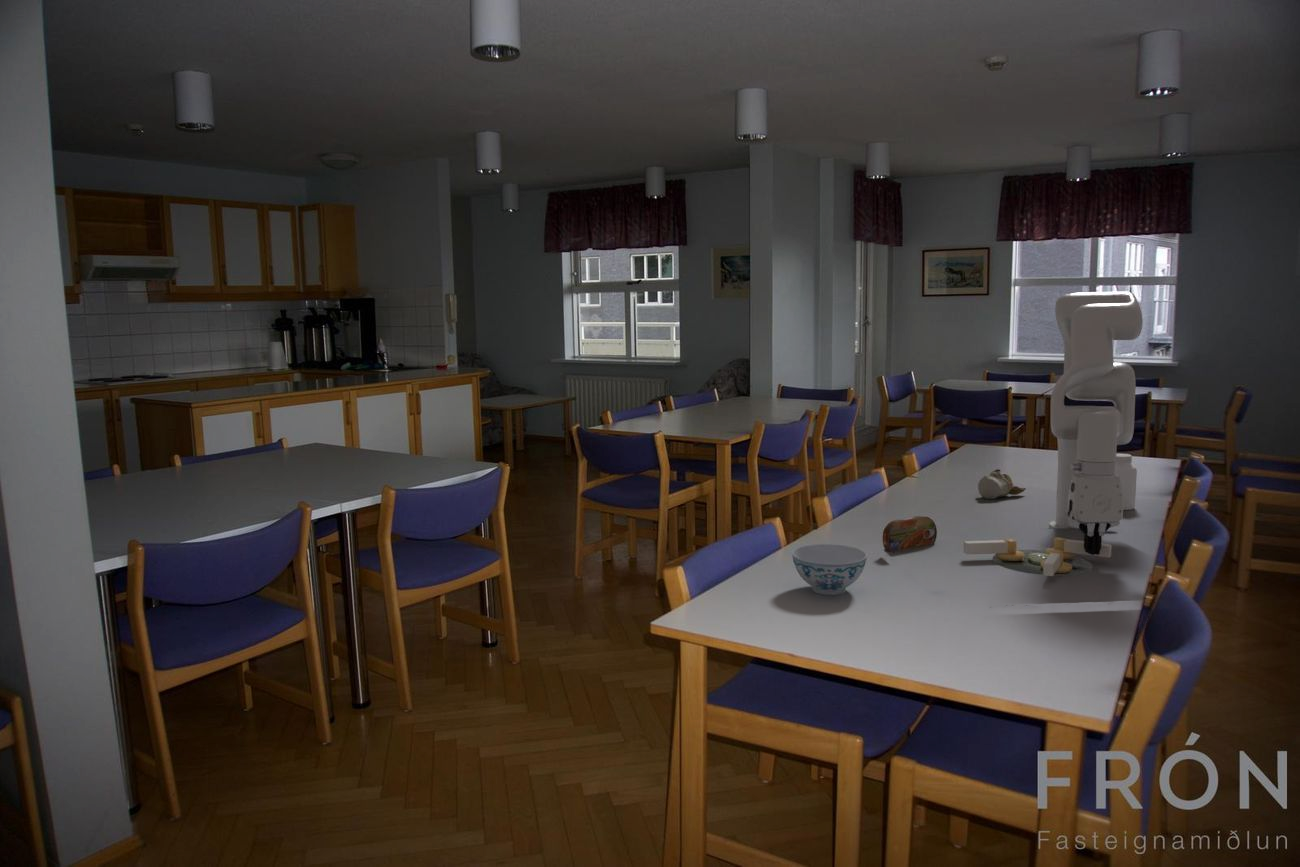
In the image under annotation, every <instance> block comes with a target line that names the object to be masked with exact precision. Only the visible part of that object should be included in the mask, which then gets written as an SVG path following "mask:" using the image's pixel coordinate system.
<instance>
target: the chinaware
mask: <svg viewBox="0 0 1300 867" xmlns="http://www.w3.org/2000/svg"><path fill="white" fill-rule="evenodd" d="M791 556H792V560H793V564H794V567H795V569H796V571H797V573H798V574H799V576H800V577H801V579H802V580H803V581H804V582H805V583H806V584H808V585H809V586H811V587H812V588H811V589H812V591H813V592H814V593H816V594H819V595H826V596H836V595H842V594H844V593H845V592H846V589H847V588H848V587H849V586H851V585H853V584H854V583H855V582H856V581H857V580H858V579H859V577H860V576H861V574H862V572H863V570H864V568H865V565H866V561H867V559H868V558H867V557H868V555H867V553H866V552H865V551H864V550H862V549H860V548H857V547H854V546H849V545H843V544H832V543H830V544H829V543H821V544H819V543H817V544H807V545H802V546H800V547H797V548H794V550H792V552H791Z"/></svg>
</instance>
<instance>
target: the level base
mask: <svg viewBox="0 0 1300 867" xmlns="http://www.w3.org/2000/svg"><path fill="white" fill-rule="evenodd" d="M1017 550H1018V551H1021V552H1023V553H1024V554H1025V555H1024V560H1020V561H1007V560H1001V559H998V558H996V557H995V554H994V555H993V556H992V560H993V562H994V564H996V565H998V566H1000V567H1002V568H1005V569H1009V570H1012V571H1014V572H1015V571H1016V572H1021V573H1024V574H1025V573H1026V574H1032V575H1040V576H1044V575H1043V570H1042V569H1041V568H1040V567H1041V562H1042V561H1045V560H1046V559H1047V558H1048V556H1049V555H1050V554H1045V550H1044V549H1043V550H1042V549H1017ZM1063 562H1067V563H1069V564H1071V565H1072V571H1071V572H1068V573H1055V574H1054V575H1053V576H1073V575H1075V576H1076V575H1080V574H1081V575H1082V574H1085V573H1087V572H1090V571H1092V569H1093V564H1092V563H1091V562H1090V561H1089V560H1087V559H1084V558H1082V557H1081V556H1080V557H1079V556H1077V555H1075V558H1073V559H1063Z"/></svg>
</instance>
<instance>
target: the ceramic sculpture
mask: <svg viewBox="0 0 1300 867" xmlns="http://www.w3.org/2000/svg"><path fill="white" fill-rule="evenodd" d="M1026 489H1027V488H1026V487H1019V486H1017V485H1014V483H1013V481H1012V478H1011V476H1010V475H1009V474H1007V473H1004V472H1001V469H999V468H998V469H995V470H992V471H990V474H989V475H988V476H987V475H984V476H983V477H981V478H980V480H979V482H978V483H977V491H978V493H979V494H980V496H981V497H982V498H984V499H986V500H995V499H997V498H1002V497H1006V496H1008V495H1013V496H1015V495H1019V494H1021V493H1023V492H1024V491H1025V490H1026Z"/></svg>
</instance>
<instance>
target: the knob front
mask: <svg viewBox="0 0 1300 867" xmlns="http://www.w3.org/2000/svg"><path fill="white" fill-rule="evenodd" d="M1040 568H1041V569H1042V570H1043V575H1042V576H1046V577H1047V576H1048V577H1054V576H1055V575H1054V574H1055V573H1068V572H1071V571H1072V565H1071V564H1069V563H1067V562H1063V551H1061V550H1050V555H1049V556H1048V558H1047V559H1046V560H1045V561H1042V562H1041V567H1040Z"/></svg>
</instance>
